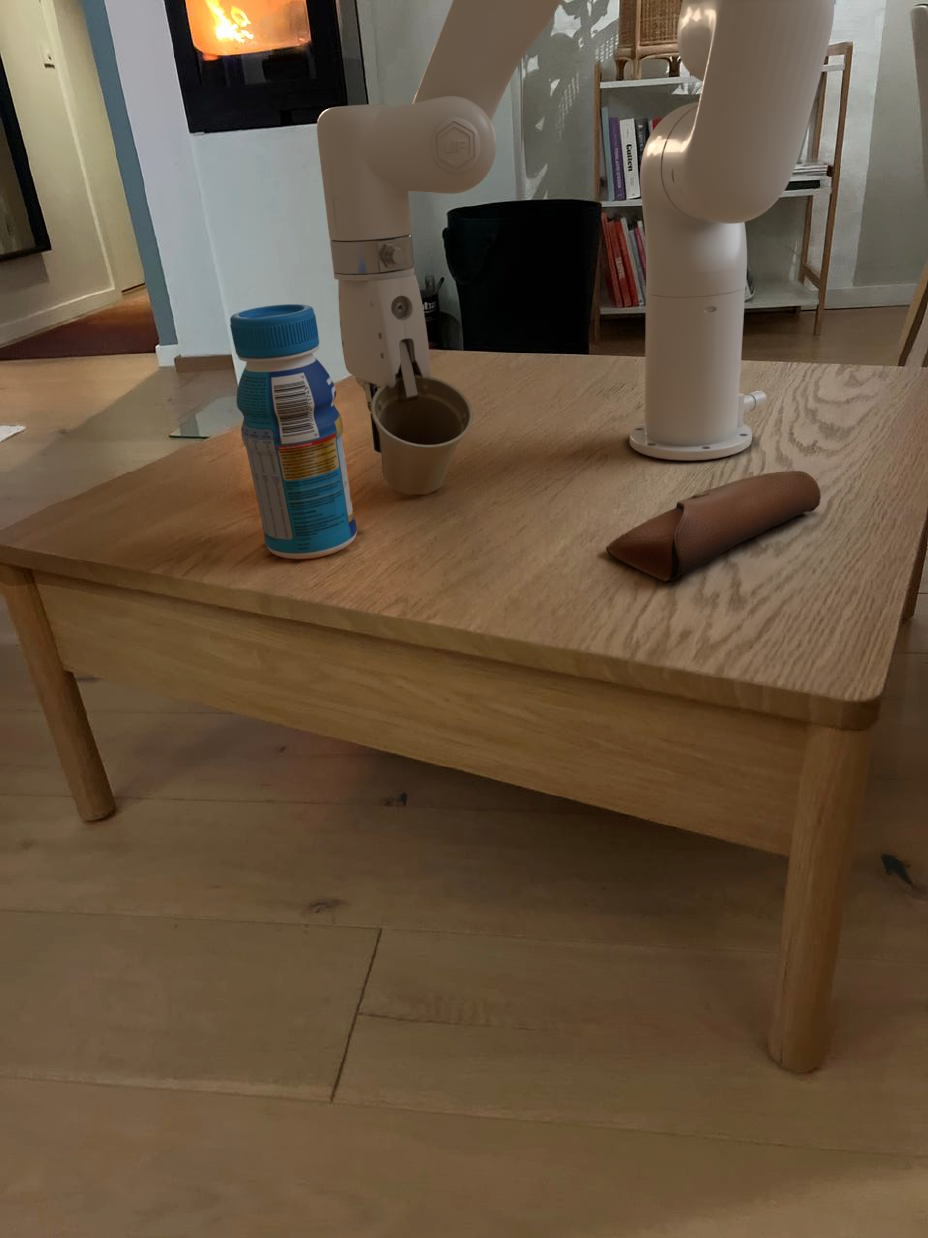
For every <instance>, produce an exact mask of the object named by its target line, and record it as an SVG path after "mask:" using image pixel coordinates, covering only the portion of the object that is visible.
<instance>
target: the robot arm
mask: <svg viewBox="0 0 928 1238" xmlns="http://www.w3.org/2000/svg"><path fill="white" fill-rule="evenodd" d="M562 1H563V0H452V1H451V5H450V7H449V10H448V11H447V12H448V13H447V15H446V17H445V20H444V23H443V25H442V28H441V30H440V33H439V35H438V38H437V40H436V43H435V45H434V47H433V50H432V53H431V55H430V58H429V59H428V63H427V65H426V68H425V71H424V73H423V75H422V78H421V81H420V83H419V86H418V87H417V91H416V94H415V95H414V98H413V101H412V103H409V104H408V103H407V104H402V105H395V106H391V105H388V104H382V103H381V104H380V103H379V104H377V103H375V104H374V103H373V104H370V103H369V104H368V103H367V104H354V105H344V106H343V105H342V106H335V107H330V108H328V109H325V110H324V111H322V112H321V114H319V117H318V118H317V122H316V135H317V137H316V138H317V145H318V147H317V148H318V154H319V162H320V163H319V164H320V170H321V179H322V187H323V195H324V203H325V212H326V221H327V229H328V237H329V246H330V247H329V248H330V252H331V253H330V254H331V263H332V271H333V278H334V279H335V280H338V281H337V287H338V288H337V289H338V290H337V291H338V295H337V296H338V314H339V316H338V317H339V330H340V338H341V339H340V340H341V347H342V348H341V349H342V354H343V361H344V365H345V368H346V371H347V372H348V373H349V374H350V375H351V376H353V377H355V381H356V383H357V385H358V386H360V387H361V388H362V389H363V391H364V394H365V399H366V405H367V406H366V407H367V409H368V411H369V413H370V422H371V432H372V441H373V450H374V451H375V452H377V453H379V454H381V445H380V435H379V431H378V429H377V426H376V424H375V422H374V420H373V417H372V413H371V403H372V399H373V397H374V395H375V393H376V392H377V390H378V389H379V388H380V387H381V386H383V385H384V384H385V383H386V384H387V385H388V386H389V388H390V389H392V388H393V387H394V386H395V383H397V381H395V378H398V379H399V388H398V402H399V403H401V402H408V401H412V400H417V398H418V393H417V388H416V383H415V378H414V375H421V377H422V378H428V377H432V368H431V355H430V347H429V346H430V345H429V339H428V331H427V324H426V317H425V311H424V306H423V300H422V295H421V291H420V287H419V282H418V279H417V276H416V274H415V272H416V271H415V260H414V249H413V247H414V246H413V235H412V225H411V212H410V200H409V199H410V197H409V192H421V193H422V192H424V193H434V194H435V193H436V194H445V195H446V194H447V195H449V194H450V195H454V194H460V193H464V192H467V191H470V190H472V189H473V188H475V187H476V186H478V185H479V184H480V183H481V182H483V180H484V179H485V178H486V177H487V175H488V174H489V172H490V171H491V169H492V167H493V165H494V162H495V158H496V152H497V137H496V132H495V131H496V130H495V129H494V126H493V125H494V124H493V123H492V121H493V118H494V117H495V114H496V112H497V110H498V107H499V105H500V103H501V101H502V98H503V96H504V93H505V91H506V90H507V87H508V85H509V83H510V82H511V79H512V77H513V76H514V74H515V71H516V69H517V68H518V66H519V64H520V62H521V61H522V59H523V58H524V56H525V54H526V53H527V51H528V50H529V48H530V47H531V46H532V44H533V43H534V41H535V40H536V39H537V38H538V37H539V35H540V34H541V33H542V32H543V30H544V29H545V28H546V26H547V25H548V24H549V23H550V21H551V20H552V18H553V17H554V15H555V13H556V12H557V10H558V8H559V7H560V5H561V3H562ZM834 16H835V0H682V2H681V8H680V13H679V17H678V23H677V33H676V34H677V35H676V37H677V38H676V43H677V44H676V46H677V50H678V55H679V57H680V60H681V63H682V64H683V66H684V68H685V69H686V71H687V72H688V73H689V74H690V75H691V76H693V77H694V78H695V79H697V80H699V81H701V82H702V86H701V90H700V95H699V101H695V102H691V103H687V104H684V105H682V106H680V107H677V108H676V109H674V110H673V111H671V112H669V113H668V114H667V115H666V116H665V117H663V118H662V119H661V120H660V121H659V122H658V123H657V125H656V126H655V127H654V129H653V130H652V132H651V133H650V135H649V137H648V139H647V141H646V143H645V147H644V149H643V152H642V157H641V162H640V170H639V186H640V199H641V206H642V208H641V209H642V216H643V217H642V218H643V224H644V225H643V226H644V236H645V345H644V346H645V347H644V349H645V353H644V422H642V423H640V424H638V425H636V426H634V428H632V429H631V431H630V432H629V444H630V447H631V448H632V449H633V450H634V451H636V452H638V453H640V454H642V455H645V456H648V457H652V458H656V459H662V460H669V461H670V460H671V461H706V460H713V459H720V458H725V457H729V456H733V455H736V454H738V453H740V452H742V451H744V450H745V449H747V448H748V447H750V445H751V444H752V442H753V441H752V440H753V430H752V428H750V427H749V425H747V424H745V423H744V417H746V416H747V414H748V413H749V412H753V411H756V410H760V409H763V408H764V407H766V405H767V403H768V397H767V395H766V394H767V393H765V392H764V391H763V390H756V391H751V392H749V393H746V394H745V393H742V392H740V385H741V369H742V368H741V367H742V352H743V351H742V350H743V337H744V336H743V333H744V315H745V302H746V301H745V300H746V286H747V275H748V273H747V271H748V246H747V232H746V224H745V223H746V222H749V221H752V220H754V219H756V218H758V217H760V216H762V215H763V214H765V213H766V212H767V211H768V210H770V209H771V207H773V206H774V204H776V202H778V200H779V199H780V198H781V196H782V195H783V193H784V192H785V190H786V189H787V187H788V185H789V184H790V181H791V179H792V176H793V175H794V172H795V169H796V166H797V163H798V160H799V157H800V155H801V151H802V147H803V143H804V140H805V135H806V132H807V129H808V126H809V121H810V118H811V113H812V110H813V106H814V102H815V98H816V94H817V91H818V86H819V83H820V79H821V77H822V71H823V68H824V64H825V60H826V58H827V57H826V56H827V54H828V53H827V52H828V48H829V44H830V40H831V36H832V31H833V27H834V19H835V17H834Z"/></svg>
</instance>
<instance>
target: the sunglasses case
mask: <svg viewBox="0 0 928 1238" xmlns="http://www.w3.org/2000/svg"><path fill="white" fill-rule="evenodd" d="M821 498H822V497H821V489H820V487H819V484H818V482H817V481H816V480H815V478H814V477H813V476H812V475H810V474H809V473H807V472H806V471H801V470H789V471H787V470H785V471H775V472H767V473H762V474H761V473H760V474H757V475H752V476H748V477H745V478H741V479H737V480H733V481H731V482H728V483H725V484H723V485H720V486H716V487H713V488H709V489H707V490H704V491H701V492H698V493H695V494H693V495H691V496H689V497H687V498H685V499H681V500H679V501H677V502H676V505H675V507H674V508H672V509H669V510H667V511H665V512H663V513H660V514H659V515H657V516H654V517H653V518H650V519H648V520H646V521H645V522H642V523H640V524H639V525H637V526H635V527H633V528H632V529H630V530H628V531H627V532H625V533H623V534H621V535H620V536H619V537H616V538H615V539H614V540H612V541H611V542H609V544H607V546H605V550H606V552H607V554H608V555H609V556H611V557H612V558H614V559H616V560H617V561H619V562H621V563H622V564H624V565H625V566H627V567H629V568H631V569H633V570H636V571H637V572H640V573H642V574H645V575H647V576H649V577H651V578H654V579H656V580H657V581H661V582H663V583H669V582H673V581H674V580H676V579H677V578H678V577H679V576H681V575H686V574H688V573H690V572H692V571H694V570H695V569H697V568H700V567H701V566H702V565H704V564H706V563H707V562H709V561H710V560H713V559H714V558H716V557H718V556H719V555H720V554H722V553H725V552H726V551H728V550H730V549H732V548H733V547H735V545H737V544H739V543H743V542H745V541H747V540H749V539H751V538H754V537H756V536H758V535H760V534H762V533H763V532H766V531H768V530H769V529H771V528H773V527H777V526H779V525H781V524H783V523H785V522H787V521H789V520H791V519H794V518H795V517H797V516H800V515H802V514H805V513H806V512H808V513H812V512H813V511H815V510H816V509H817V508H818V507H819V506H820V503H821Z"/></svg>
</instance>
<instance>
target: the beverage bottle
mask: <svg viewBox="0 0 928 1238" xmlns="http://www.w3.org/2000/svg"><path fill="white" fill-rule="evenodd" d="M229 321H230V324H229V326H230V332H231V337H232V341H233V346H234V350H235V354H236V356H237V358H238V360H240V361H242V362H245V367H244V368H243V371H242V373H241V376H240V378H239V382H238V385H237V389H236V407H237V409H238V411H239V412H240V413H241V414H242V416H243V421H242V423H241V428H240V434H241V440H242V443H243V445H244V447H245V449H246V454H247V459H248V463H249V467H250V472H251V477H252V482H253V486H254V491H255V496H256V500H257V504H258V511H259V515H260V520H261V525H262V529H263V537H264V542H265V546H266V548H267V549H268V551H269V552H270V553H272V554H273V555H275V556H277V557H279V558H284V559H289V560H310V559H317V558H321V557H325V556H326V557H327V556H328V555H332V554H335V553H337V552H339V551H342V550H344V549H345V548H347V547H349V546H350V545H351V544H352V543H353V542H354V541H355V539H356V537H357V534H358V527H357V521H356V518H355V513H354V508H353V507H354V506H353V501H352V496H351V489H350V483H349V482H350V481H349V474H348V468H347V461H346V453H345V448H344V447H345V446H344V440H343V433H344V423H343V419H342V416H341V413H340V412H339V410H338V409H337V408H336V406H335V400H336V396H337V388H336V386H335V384H334V381H333V379H332V377H331V376H330V374H329V372H328V371H327V369H326V368H325V366H324V365H323V364H322V363H321V361H319V359H317V357H316V356H315V355H314V353H315V352H317V351H318V350H319V348H320V336H319V329H318V323H317V317H316V313H315V310H314V308H313V307H312V306H310V305H308V304H303V303H301V304H299V303H287V304H274V305H266V306H259V307H254V308H250V309H245V310H242V311H239V312H236V313H234V314H232V315H231V316H230V319H229Z"/></svg>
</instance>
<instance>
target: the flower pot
mask: <svg viewBox="0 0 928 1238" xmlns="http://www.w3.org/2000/svg"><path fill="white" fill-rule="evenodd" d="M414 378H415V383H416V388H417V393H418V398H417V400H412V401H408V402H401V403H399V402H398V388H399V379H398V378H395V381H397V383H395V386H394V387H393V388H392V389H390V388H389V386H388V385H387V384H386V383H385V384H384V385H383V386H381V387H380V388H379V389H378V390H377V392H376V393H375V395H374V397H373V399H372V403H371V412H370V413H372V417H373V420H374V422H375V424H376V426H377V429H378V431H379V435H380V445H381V453H380V456H381V470H382V475H383V478H384V480H385V482H386V483H387V484H388V485H389V486H390V487H391V488H392V489H394V490H395V491H397V492H398V493H401V494H404V495H406V496H412V495H423V496H426V495H428V494H431V493H433V492H435V491H436V490H438V489H439V488H440V487H441V486H442V484H443V483H444V481H445V477H446V476H447V475H446V474H447V473H448V472H447V471H448V469H449V467H450V464H451V462H452V459H453V457H454V454H455V452H456V449H457V447H458V445H459V444H460V442H461V441H462V440H463V438H465V436H467V434H468V433H469V431H470V429H471V427H472V424H473V419H474V411H473V408H472V405H471V403H470V401H469V400H468V398H467V397H466V395H465V394H464V393H463V392H461V391H460V389H458V388H457V387H455V386H454V385H452V384H451V383H449V382H447V381H445V380H442V379H440V378H437V377H434V376H430V377H428V378H422V377H421V375H414Z"/></svg>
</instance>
